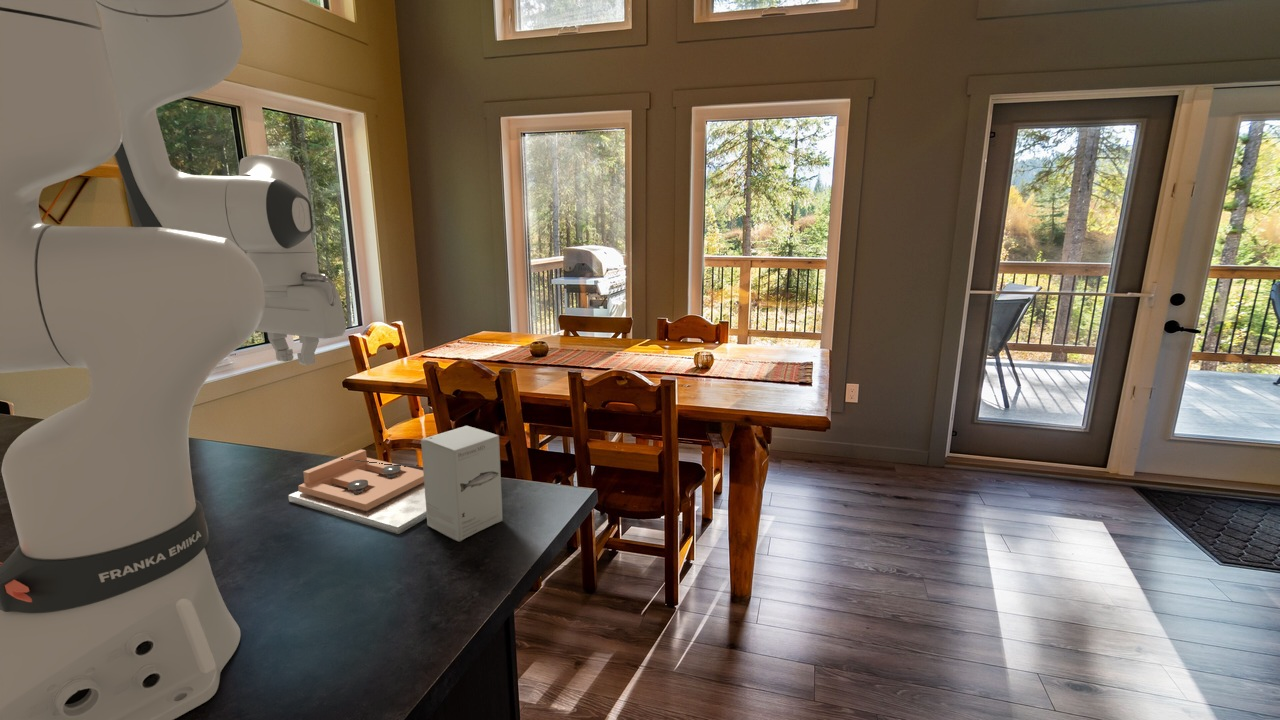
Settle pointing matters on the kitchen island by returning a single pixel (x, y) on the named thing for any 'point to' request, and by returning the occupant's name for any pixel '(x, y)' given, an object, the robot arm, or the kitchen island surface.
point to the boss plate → (384, 516)
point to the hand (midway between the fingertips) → (296, 362)
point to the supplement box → (462, 481)
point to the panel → (352, 470)
